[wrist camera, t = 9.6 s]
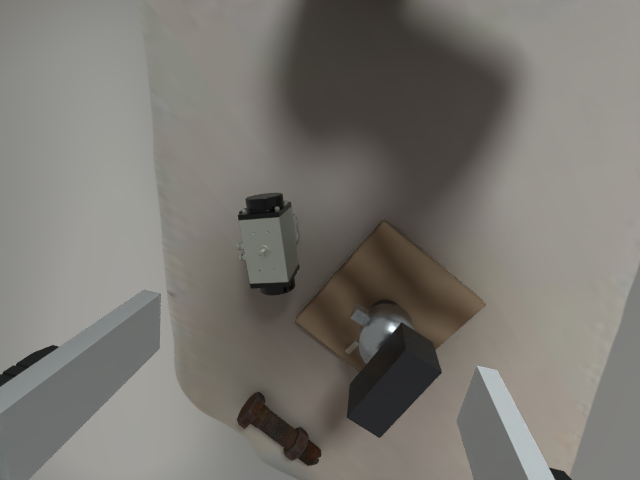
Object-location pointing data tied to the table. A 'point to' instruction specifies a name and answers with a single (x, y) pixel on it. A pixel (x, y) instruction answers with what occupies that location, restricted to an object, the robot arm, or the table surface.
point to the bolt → (279, 430)
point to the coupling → (389, 367)
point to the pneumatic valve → (269, 243)
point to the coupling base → (388, 294)
